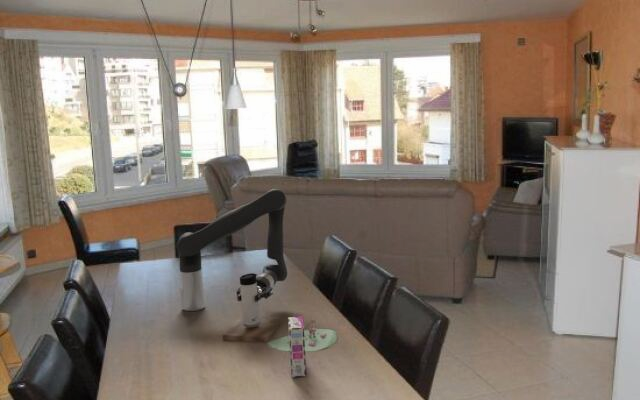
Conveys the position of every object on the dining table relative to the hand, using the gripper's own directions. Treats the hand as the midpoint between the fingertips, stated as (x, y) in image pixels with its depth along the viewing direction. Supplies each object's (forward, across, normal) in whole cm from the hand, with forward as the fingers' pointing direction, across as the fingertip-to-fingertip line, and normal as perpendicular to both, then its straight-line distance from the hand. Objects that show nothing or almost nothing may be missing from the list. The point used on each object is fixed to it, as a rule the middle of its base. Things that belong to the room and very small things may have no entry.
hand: (247, 299), depth 222 cm
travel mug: (-2, 0, +11) cm, 11 cm away
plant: (+4, +22, +15) cm, 27 cm away
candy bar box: (+27, +27, +14) cm, 41 cm away
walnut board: (-2, 0, +14) cm, 14 cm away
